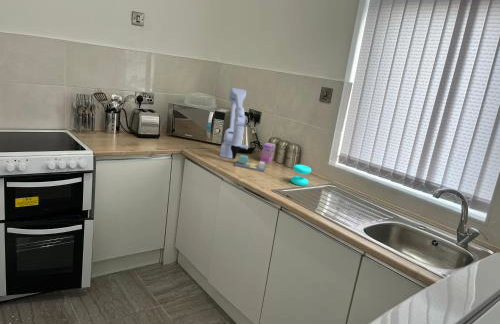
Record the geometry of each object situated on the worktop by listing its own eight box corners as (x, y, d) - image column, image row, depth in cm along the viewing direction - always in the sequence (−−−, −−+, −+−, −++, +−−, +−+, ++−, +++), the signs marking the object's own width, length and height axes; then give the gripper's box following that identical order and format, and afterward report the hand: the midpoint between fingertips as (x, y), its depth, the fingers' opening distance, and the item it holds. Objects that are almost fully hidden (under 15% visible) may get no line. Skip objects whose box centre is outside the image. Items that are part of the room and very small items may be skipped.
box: (268, 163, 248) (271, 146, 246) (259, 161, 250) (263, 144, 247) (272, 161, 258) (275, 144, 255) (264, 159, 260) (267, 142, 257)
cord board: (234, 165, 227) (235, 159, 226) (237, 161, 239) (238, 155, 238) (264, 172, 226) (265, 165, 225) (265, 167, 237) (266, 161, 236)
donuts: (307, 165, 219) (314, 170, 210) (303, 181, 222) (310, 187, 212) (291, 163, 216) (298, 168, 207) (287, 179, 219) (294, 185, 209)
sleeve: (238, 162, 230) (239, 156, 229) (239, 160, 235) (240, 154, 234) (246, 163, 230) (247, 157, 229) (247, 162, 234) (248, 156, 233)
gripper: (224, 135, 226) (220, 157, 229) (248, 140, 225) (244, 162, 228) (226, 133, 233) (223, 155, 236) (249, 138, 232) (246, 159, 235)
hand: (233, 158), depth 232 cm, fingers closed
